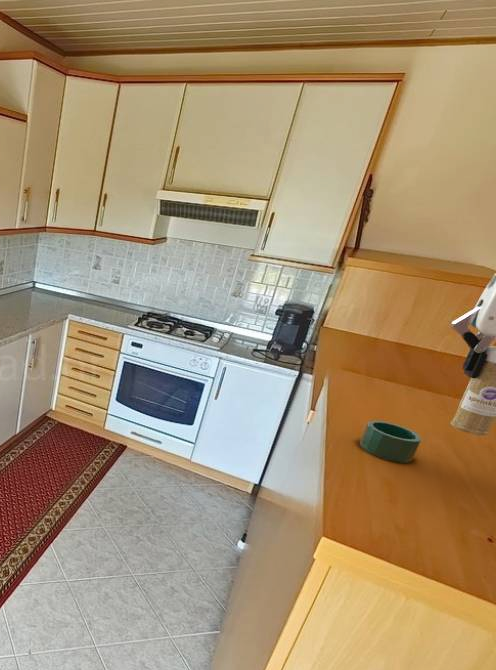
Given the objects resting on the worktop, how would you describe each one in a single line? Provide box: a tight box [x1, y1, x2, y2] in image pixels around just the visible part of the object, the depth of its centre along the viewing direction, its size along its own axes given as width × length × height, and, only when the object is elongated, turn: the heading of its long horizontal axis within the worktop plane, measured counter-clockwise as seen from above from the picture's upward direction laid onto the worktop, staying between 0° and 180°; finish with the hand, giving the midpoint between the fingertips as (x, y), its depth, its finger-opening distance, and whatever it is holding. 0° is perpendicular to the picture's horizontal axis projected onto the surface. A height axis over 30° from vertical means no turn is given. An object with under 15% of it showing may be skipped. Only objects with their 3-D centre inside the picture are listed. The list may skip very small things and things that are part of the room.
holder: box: [359, 420, 423, 464], centre depth 92 cm, size 8×8×4 cm
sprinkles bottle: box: [450, 345, 496, 436], centre depth 75 cm, size 5×5×14 cm
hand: (492, 378), depth 74 cm, fingers closed on sprinkles bottle, 4 cm apart
